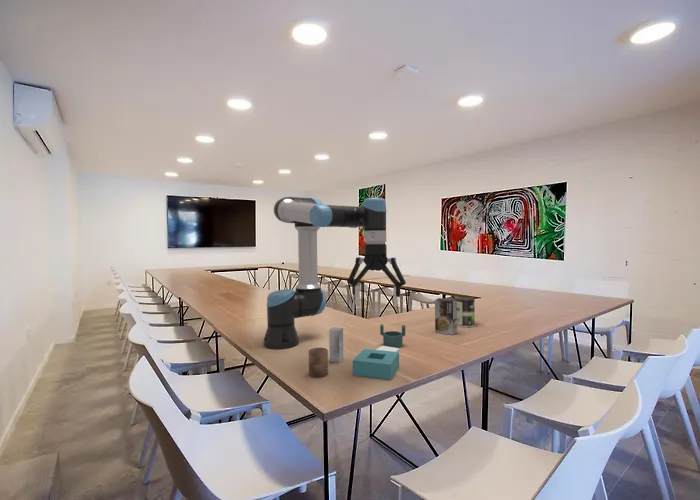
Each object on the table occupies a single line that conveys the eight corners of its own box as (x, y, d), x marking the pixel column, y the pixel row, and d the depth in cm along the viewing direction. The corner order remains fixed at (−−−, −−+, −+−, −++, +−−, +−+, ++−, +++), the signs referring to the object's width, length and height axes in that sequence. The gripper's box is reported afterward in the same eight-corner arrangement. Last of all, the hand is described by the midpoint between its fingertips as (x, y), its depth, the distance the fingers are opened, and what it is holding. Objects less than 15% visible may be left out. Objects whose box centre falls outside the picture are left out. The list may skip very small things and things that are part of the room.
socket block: (352, 375, 115) (352, 360, 115) (364, 362, 128) (364, 348, 128) (391, 379, 111) (390, 364, 111) (399, 365, 123) (399, 352, 123)
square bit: (329, 361, 129) (329, 329, 128) (333, 358, 132) (333, 327, 132) (339, 362, 127) (339, 330, 127) (343, 359, 131) (343, 327, 131)
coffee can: (476, 324, 182) (476, 297, 182) (472, 328, 174) (471, 300, 173) (457, 321, 188) (457, 296, 188) (451, 325, 179) (451, 298, 179)
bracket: (407, 346, 146) (407, 325, 146) (390, 349, 142) (389, 328, 141) (394, 341, 154) (394, 321, 154) (377, 344, 149) (377, 323, 149)
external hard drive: (399, 352, 140) (386, 361, 130) (381, 349, 144) (367, 357, 134) (399, 348, 140) (386, 357, 129) (381, 345, 144) (367, 353, 134)
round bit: (305, 376, 115) (305, 352, 115) (314, 369, 121) (313, 346, 121) (323, 378, 113) (322, 354, 113) (331, 371, 119) (330, 348, 119)
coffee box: (457, 332, 167) (457, 299, 166) (453, 335, 161) (453, 301, 161) (438, 329, 172) (438, 297, 171) (434, 332, 166) (434, 299, 166)
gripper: (337, 243, 119) (338, 305, 119) (409, 243, 110) (410, 309, 111) (345, 243, 126) (346, 301, 126) (413, 242, 117) (414, 304, 118)
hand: (376, 305), depth 119 cm, fingers open, 13 cm apart
